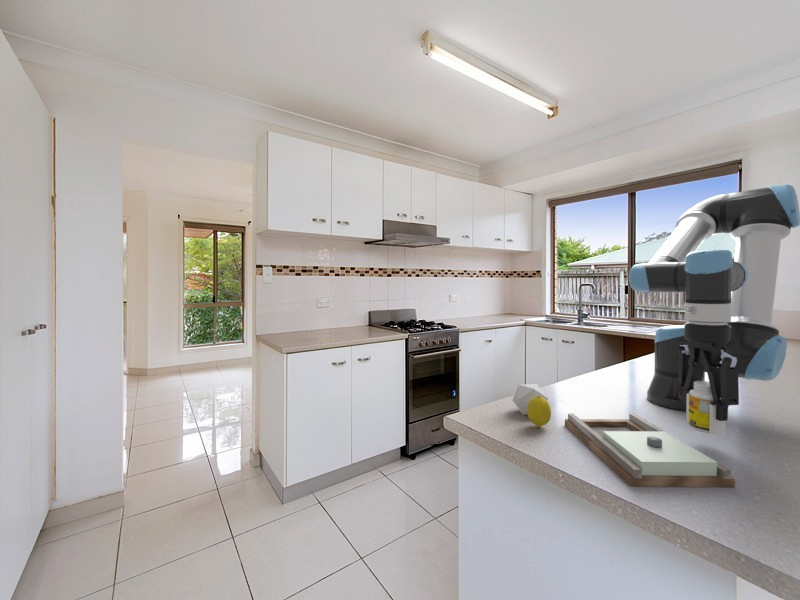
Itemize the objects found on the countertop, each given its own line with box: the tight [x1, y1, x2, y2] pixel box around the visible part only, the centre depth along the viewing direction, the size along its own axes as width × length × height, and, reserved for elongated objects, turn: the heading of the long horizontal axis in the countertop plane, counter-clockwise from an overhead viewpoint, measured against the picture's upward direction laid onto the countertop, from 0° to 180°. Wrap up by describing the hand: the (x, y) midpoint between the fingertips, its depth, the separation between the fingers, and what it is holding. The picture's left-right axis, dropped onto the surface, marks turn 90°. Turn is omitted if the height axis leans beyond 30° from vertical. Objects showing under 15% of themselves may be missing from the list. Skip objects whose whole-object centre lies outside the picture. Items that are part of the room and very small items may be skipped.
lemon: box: [527, 396, 552, 428], centre depth 88 cm, size 6×6×8 cm
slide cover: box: [603, 430, 718, 476], centre depth 69 cm, size 13×13×4 cm
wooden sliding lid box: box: [564, 412, 736, 488], centre depth 75 cm, size 18×27×3 cm, turn 178°
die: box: [512, 383, 549, 416], centre depth 98 cm, size 8×9×10 cm
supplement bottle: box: [688, 380, 721, 434], centre depth 77 cm, size 6×6×10 cm
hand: (704, 427), depth 77 cm, fingers closed on supplement bottle, 6 cm apart
